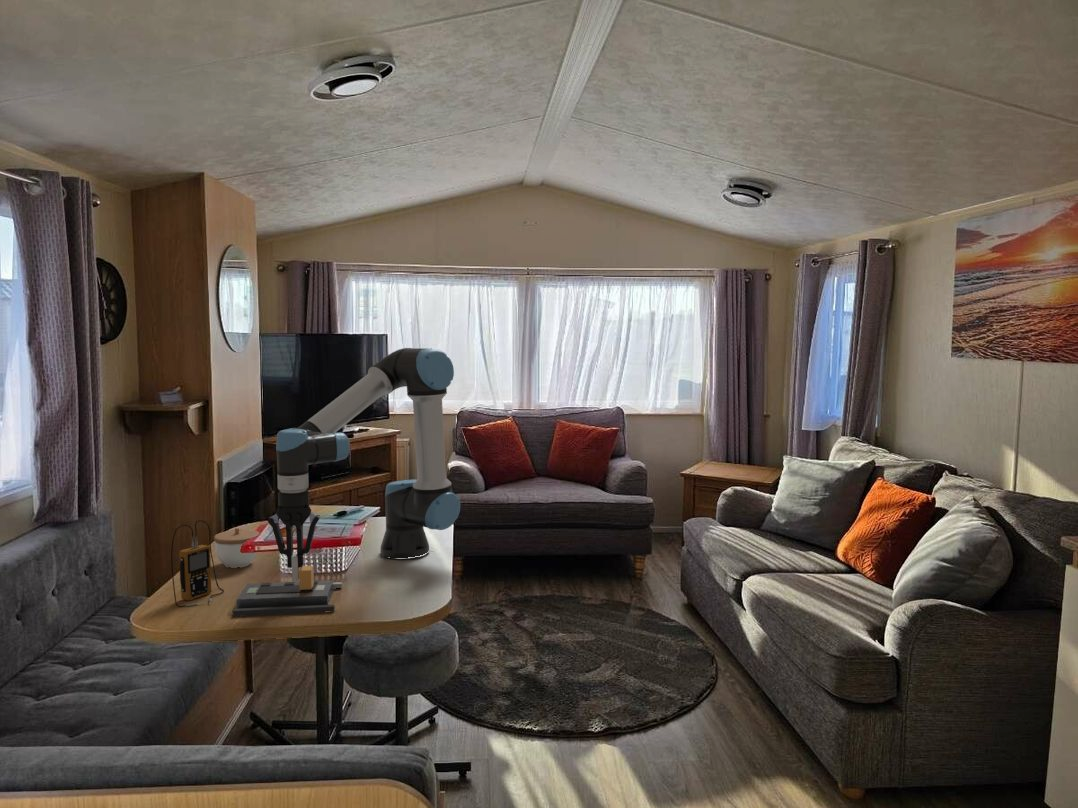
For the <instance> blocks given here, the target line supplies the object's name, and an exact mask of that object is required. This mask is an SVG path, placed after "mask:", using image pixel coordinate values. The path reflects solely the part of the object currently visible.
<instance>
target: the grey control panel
mask: <svg viewBox="0 0 1078 808" xmlns="http://www.w3.org/2000/svg"><path fill="white" fill-rule="evenodd" d="M333 583H334V580H314V585H313V587H312V589H305V590H300V588H299V581H285V582H282V581H281V582H262V583H261V582H260V583H257V582H256V583H246V585H245V587H243V589H242V591H241V592H240V593H239V594H238V596H237V598H236V600H235V601H236V609H245V608H268V607H292V606H315V605H329V604H330V602H329V601H331V599H332V596H333V592H334V589H333ZM331 595H332V596H331ZM330 598H331V599H330ZM328 603H329V604H328Z"/></svg>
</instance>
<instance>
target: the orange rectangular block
mask: <svg viewBox="0 0 1078 808" xmlns="http://www.w3.org/2000/svg"><path fill="white" fill-rule="evenodd" d="M314 569H315V568H314V565H303V566H302V567H301V568H299V580H298V582H299V588H300V590H305V589H312V587H313V585H314V581H315V580H314V579H315V578H314V577H315V576H314V575H315V574H314Z"/></svg>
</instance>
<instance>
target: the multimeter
mask: <svg viewBox="0 0 1078 808" xmlns="http://www.w3.org/2000/svg"><path fill="white" fill-rule="evenodd" d="M198 522H203V523H205V524H206V526H207V527H208V531H209V532H208V534H209V535H208V536H209V537H208V539H209V541H208V542H209V545H206V544H200V545H198V544H199V543H198V536H197V523H198ZM182 527H188V528H189V529H190V530H191V547H190V548H185V549H181V550H179V551H178V552H179V554H178V555H179V581H180V582H179V583H180V593H181V594H180V595H181V597H180V598H181V599H182V600H184V601H189V602H190V601H193V600H194V599H197V598H200V597H203V596H209V595H210V594H211V593H212V571H211V570H212V567H213V575H214V579H215V583H216V586H217V588H218V589H219V588H220V589H219V590H221V589H222V591H221V592H220V593H216V594H212V595H210V596H209V601H208V603H209V605H211V603H212V597H213V596H218V595H221V594H223V593H224V592H225V590H224V589H223V588H221V587H220V586H219V584H218V580H217V575H216V569H215V564H214V558H213V555H212V553H213V552H212V545H211V528H210V526H209V523H207V522H206V521H204V520H200V519H199V520H196V522H195V523H194V529H195V542H194V530H193V528H192V527H191V525H188V524H181V525H179V526H178V527H177V528H176V529H175V531H174V533H173V536H172V542H171V553H170V556H171V557H170V558H171V559H170V560H171V561H170V563H171V564H170V567H171V576H172V588H173V594H174V601H175V602H174V603H175V605H176V607H178V608H182V607H191V606H198V605H202V604H203V605H204V604H205V602H200V603H198V602H196V603H188V604H184V605H178V603H177V598H176V588H175V581H174V570H173V569H174V568H173V547H174V541H175V537H176V533H177V531H178V529H180V528H182ZM211 561H212V564H211ZM211 566H212V567H211ZM210 602H211V603H210Z"/></svg>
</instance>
